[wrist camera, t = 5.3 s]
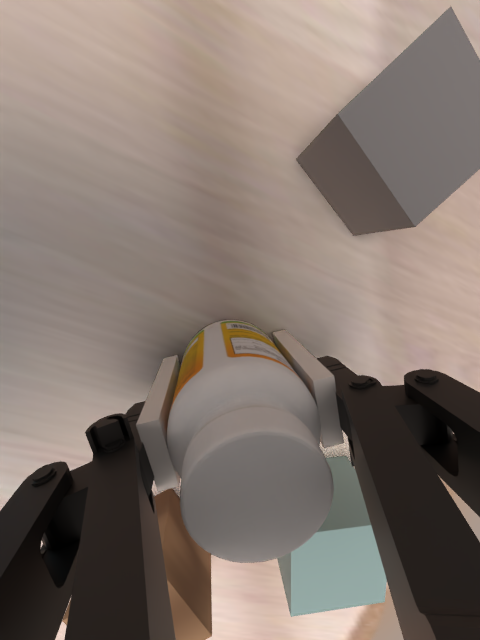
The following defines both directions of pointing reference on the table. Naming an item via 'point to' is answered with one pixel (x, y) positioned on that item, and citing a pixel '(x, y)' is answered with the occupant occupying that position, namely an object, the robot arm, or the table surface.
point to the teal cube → (336, 554)
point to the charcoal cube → (403, 135)
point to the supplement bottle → (246, 447)
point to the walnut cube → (183, 572)
